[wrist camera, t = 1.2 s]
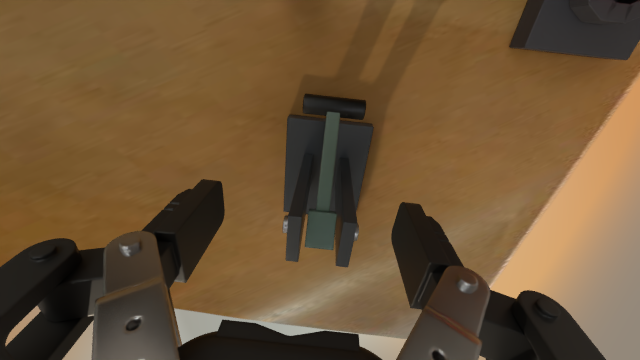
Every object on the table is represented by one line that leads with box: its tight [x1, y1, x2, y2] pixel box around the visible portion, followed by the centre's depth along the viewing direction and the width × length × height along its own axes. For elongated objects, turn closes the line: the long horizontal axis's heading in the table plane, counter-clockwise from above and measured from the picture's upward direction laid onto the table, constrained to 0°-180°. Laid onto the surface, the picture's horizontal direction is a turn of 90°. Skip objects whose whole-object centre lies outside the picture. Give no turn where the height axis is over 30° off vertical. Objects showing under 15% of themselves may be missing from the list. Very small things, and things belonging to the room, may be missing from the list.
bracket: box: [283, 115, 374, 267], centre depth 25 cm, size 12×9×13 cm
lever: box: [303, 94, 366, 250], centre depth 21 cm, size 12×5×2 cm, turn 174°
